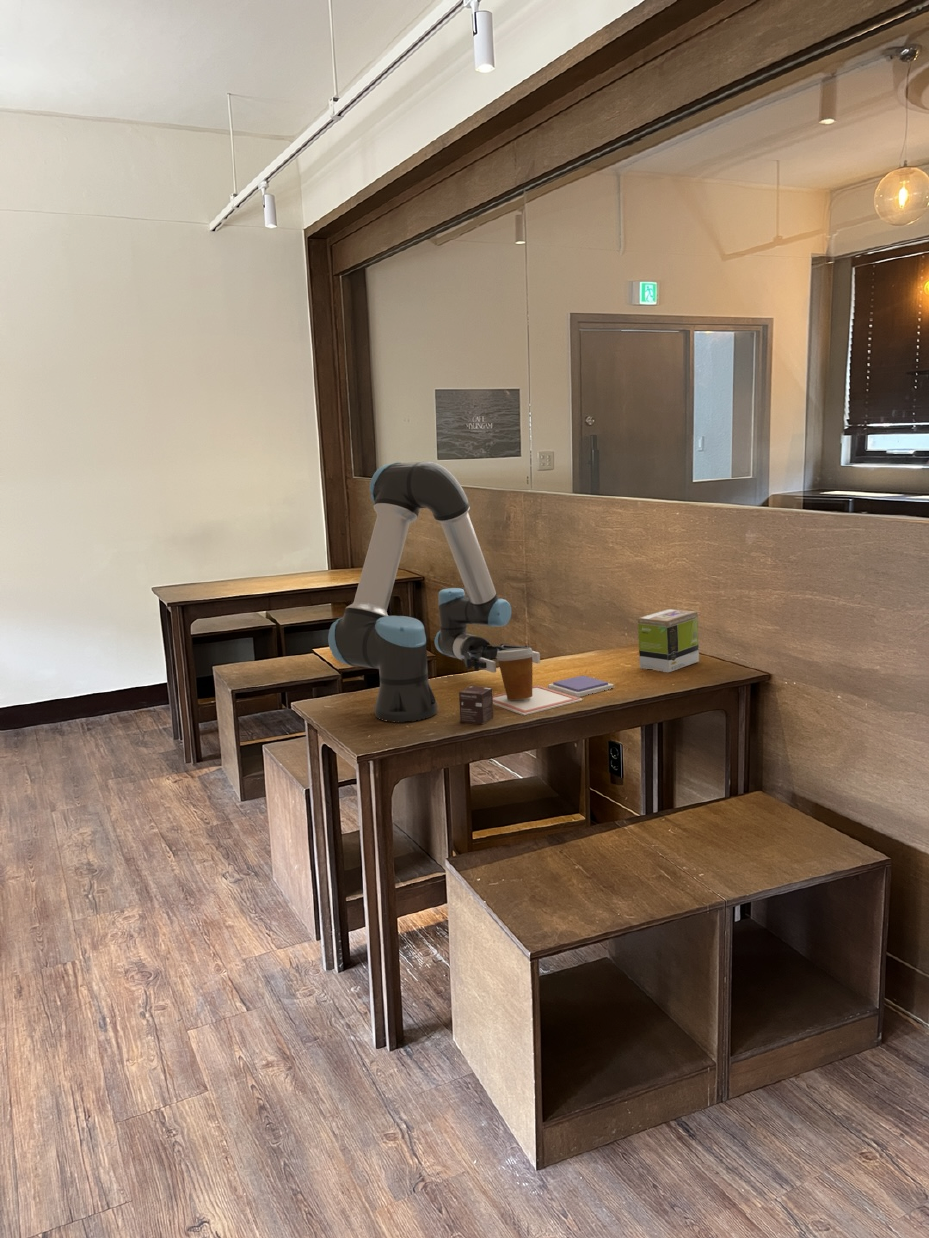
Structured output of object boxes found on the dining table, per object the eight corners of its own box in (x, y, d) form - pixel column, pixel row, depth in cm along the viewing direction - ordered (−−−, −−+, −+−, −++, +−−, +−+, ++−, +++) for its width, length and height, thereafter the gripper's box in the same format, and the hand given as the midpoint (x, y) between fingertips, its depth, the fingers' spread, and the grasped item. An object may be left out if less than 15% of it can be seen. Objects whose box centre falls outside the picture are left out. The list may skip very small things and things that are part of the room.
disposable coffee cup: (514, 702, 213) (509, 652, 212) (493, 699, 221) (487, 652, 220) (546, 695, 217) (540, 647, 217) (524, 693, 226) (519, 647, 225)
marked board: (524, 715, 207) (523, 713, 207) (481, 700, 222) (481, 697, 222) (582, 700, 217) (582, 698, 217) (538, 686, 232) (537, 684, 232)
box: (459, 722, 205) (457, 692, 204) (471, 715, 210) (469, 685, 209) (483, 724, 202) (481, 694, 201) (494, 717, 208) (492, 687, 206)
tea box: (669, 658, 255) (668, 607, 252) (699, 662, 247) (699, 611, 245) (638, 668, 245) (637, 616, 242) (668, 673, 238) (667, 620, 235)
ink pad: (577, 697, 220) (577, 691, 220) (548, 688, 230) (547, 682, 230) (613, 688, 226) (613, 682, 226) (583, 679, 236) (583, 673, 236)
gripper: (510, 655, 248) (556, 668, 230) (433, 670, 235) (476, 686, 217) (509, 629, 247) (555, 640, 229) (432, 643, 234) (474, 656, 216)
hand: (517, 662), depth 223 cm, fingers open, 13 cm apart
